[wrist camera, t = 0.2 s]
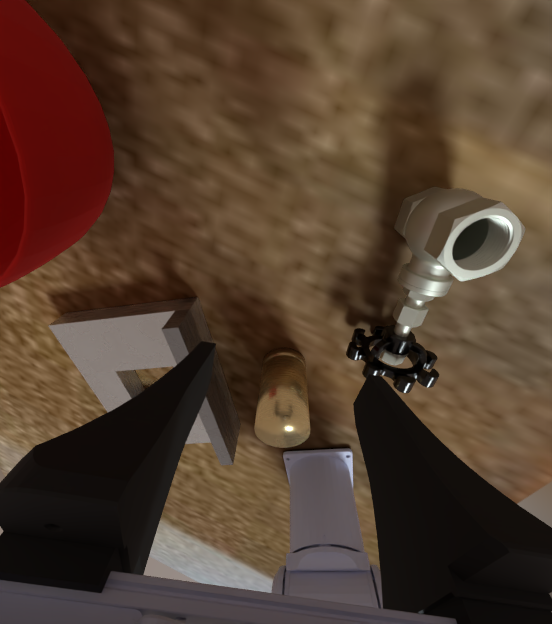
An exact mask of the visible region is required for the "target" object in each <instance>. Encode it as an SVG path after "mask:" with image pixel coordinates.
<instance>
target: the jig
mask: <svg viewBox="0 0 552 624" xmlns="http://www.w3.org/2000/svg"><path fill="white" fill-rule="evenodd" d="M48 326H49V327H50V329H51V330H52V332H53V333H54V335H55V336H56V338H57V339H58V340H59V342H60V343H61V345H62V346H63V348H64V349H65V351H66V352H67V354H68V355H69V357H70V358H71V359H72V361H73V362H74V364H75V365H76V367H77V368H78V370H79V371H80V373H81V374H82V376H83V377H84V378H85V380H86V381H87V383H88V384H89V386H90V387H91V389H92V390H93V392H94V393H95V394H96V396H97V397H98V399H99V400H100V402H101V403H102V405H103V406H104V408H105V409H106V411H107V412H110V411H112V410H113V409H115V408H117V407H119V406H120V405H122V404H124V403H125V402H127V401H128V400H130V399H132V398H133V397H135V396H136V395H138V394H139V393H141V392H142V391H144V390H145V388H144V387H143V385H142V383H141V381H140V379H139V377H138V376H137V374H136V372H135V370H136V369H147V368H158V367H169V366H173V368H174V367H175V366H176V365H177V364H178V363H179V362H180V361H182V360H183V359H184V358H185V357H186V356H187V355H188V354H189V353H190V352H191V351H192V350H193V349H194V348H195V347H196V346H197V345H198V344H199V343H200V342H201V341H205V342H210V343H213V341H212V338H211V335H210V332H209V329H208V326H207V323H206V320H205V317H204V314H203V311H202V308H201V305H200V302H199V299H198V297H194V298H185V299H177V300H169V301H161V302H152V303H144V304H136V305H128V306H119V307H111V308H103V309H95V310H86V311H78V312H70V313H65V314H64V315H63V316H61V317H60V318H58V319H57V320H55V321H54V322H53V323H51V324H50V325H48ZM239 430H240V421H239V418H238V415H237V412H236V409H235V406H234V403H233V400H232V397H231V394H230V391H229V388H228V385H227V382H226V379H225V376H224V373H223V370H222V367H221V364H220V361H219V358H218V355H217V352H216V349H215V354H214V362H213V370H212V377H211V380H210V384H209V387H208V390H207V393H206V397H205V399H204V401H203V404H202V406H201V408H200V411H199V413H198V415H197V418H196V420H195V422H194V425H193V427H192V429H191V431H190V434H189V436H188V438H187V441H186V443H185V444H190V443H208V442H211V443H212V445H213V448H214V450H215V452H216V455H217V457H218V459H219V461H220V464H221V465H233V463H234V457H235V452H236V446H237V441H238V435H239Z"/></svg>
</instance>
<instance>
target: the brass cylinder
mask: <svg viewBox="0 0 552 624" xmlns="http://www.w3.org/2000/svg"><path fill="white" fill-rule="evenodd" d="M254 430H255V434H256V436H257V437H258V438H259V439H260V440H261V441H262V442H264V443H265V444H268V445H270V446H274V447H279V448H288V447H294V446H297V445H300V444H302V443H303V442H304V441H306V440H307V438H308V437H309V435H310V418H309V404H308V391H307V377H306V362H305V359H304V357H303V356H302V355H301V354H300V353H299V352H298V351H296V350H294V349H291V348H277V349H274V350H272V351H270V352H269V353H267V354H266V356H265V357H264V359H263V364H262V374H261V381H260V389H259V397H258V404H257V412H256V419H255V427H254Z"/></svg>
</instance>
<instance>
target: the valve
mask: <svg viewBox="0 0 552 624" xmlns="http://www.w3.org/2000/svg"><path fill="white" fill-rule="evenodd" d="M394 229H395V230H396V231H397V232H398V233H399V234H401V235H402V236H403V237H404V238H405V239H406V241H407V244H408V247H409V249H410V250H411V252H412V258H411V260H410V263H406V264H404V265H403V266H402V268H401V271H400V274H399V276H398V282H399V283H400V284H401V285H402V286H403V291H404V293H405V294H406V295H407V296H406V298H402V299H399V300H398V302H397V305H396V307H395V310H394V312H393V317H394V319H395V320H396V321H397V323H396V326H395V325H392V326H385V327H381V326H376V327H375V330H374V332H373V335H372V336H369V337H366V336H365V335H364V333H365V330H364V329H361V328H357V329H355V330H354V333H353V336H352V342H350V343H349V345H348V349H347V352H346V355H347V357H348V358H350V359H352V360H359V359H361V360H363V361H364V362H365V366H364V369H363V371H362V373H363V375H364V377H365V378H367V377H368V375H369V374H371V375H376V376H380V375H384V376H386V377H389V378H391V379H392V380H393V381H394V383H393V385H394V387H395V388H396V389H397V390H398V391H400V392H402V393H409V392H410V391H411V389H412V387H413V385H414V384H415V382H416V380H417V381H418V382H419V383H420V384H421V385H423V386H425V387H429V388H430V387H433V386H434V384H435V382H436V381H437V379H438V377H439V373H438V372H437V371H436V370H435V369H432V367H433V366H434V364H435V362H436V360H437V356H436V355H435V354H434V353H433V352H430V351H427V350H425V349H424V347H422V346H421V345H420V344H418V343H416V339H415V336H414V334H413V333H412V332H411V331H410V330H411V328H412V327H418V326H420V325H421V324H422V322H423V320H424V318H425V316H426V314H427V312H428V308H427V307H426V306H425V304H424V303H425V301H430V300H433V299H434V297H440V296H444V295H446V294H447V292H448V290H449V288H450V286H451V284H452V282H453V277H452V276H451V275H453V276H454V277H455V278H457V279H458V280H459V281H466V280H470V279H474V278H478V277H482V276H485V275H488V274H490V273H493V272H495V271H498V270H500V269H502V268H503V267H504V266H505V265H506V264H507V262H508V261H509V260H510V258H511V257H512V255H513V254H514V252H515V251H516V249H517V247H518V245H519V243H520V241H521V239H522V237H523V235H524V232H525V227H524V226H523V224H522V223H521V222H520V220H519V219H518V218H517V217H516V216H515V214H514V213H513V212H512V211H511V210H510V209H509V208H508V207H507V206H506V205H505V204H503V203H502V202H500V201H496V200H491V199H487V198H483V197H482V196H480V195H479V194H477V193H475V192H473V191H470V190H466V189H459V188H453V189H443V188H439V187H432V188H430V189H427V190H425V191H422V192H420V193H417V194H415V195H412V196H410V197H407V198H405V199H404V200H403V203H402V206H401V208H400V211H399V214H398V217H397V220H396V223H395V226H394ZM450 274H451V275H450ZM357 345H359V346H361V347H357ZM374 345H375V346H374ZM371 346H374V347H373V348H372V350H371V352H370V349H369V347H371ZM406 356H407V357H408V358H409V359H410V361H411V362H412V364H413V367H411V368H407V369H400V368H395V367H391V366H389V365H386V364H384V363H382V362H381V361H379V360H378V359H379V357H380V358H381V360H383V361H384V362H386V363H388V364H391V365H398V364H401V363H402V362H403V360H404V358H405V357H406ZM423 368H424V369H432V370H431V372H430V373H429V372H427V371H425V370H424V369H423Z"/></svg>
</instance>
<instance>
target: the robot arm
mask: <svg viewBox="0 0 552 624" xmlns="http://www.w3.org/2000/svg"><path fill="white" fill-rule="evenodd" d="M215 346H216V344H215V343H210V342H205V341H201V342H200V343H199V344H198V345H197V346H196V347H195V348H194V349H193V350H192V351H191V352H190V353H189V354H188V355H187V356H186V357H185V358H184V359H183V360H182V361H180V362H179V363H178V364H177V365H176V366H175V367H174V368H173V369H171V370H170V371H169V372H168V373H166V374H165V375H164V376H163V377H161V378H160V379H159V380H158V381H156V382H155V383H154V384H152V385H151V386H150V387H148V388H147V389H145V390H144V391H142V392H141V393H139V394H138V395H136V396H135V397H133V398H132V399H130V400H128V401H127V402H125V403H124V404H122V405H120V406H119V407H117V408H115V409H113V410H112V411H110V412H108V413H106V414H104V415H102V416H100V417H98V418H96V419H94V420H93V421H91V422H89V423H87V424H85V425H83V426H81V427H79V428H76V429H74V430H72V431H70V432H68V433H65V434H63V435H60V436H58V437H56V438H53V439H51V440H49V441H46V442H44V443H42V444H39V445H37V446H35V447H34V448H33V449H32V450H31V451H30V452H29V453H28V454H27V455H26V456H24V457H23V458H22V459H21V460H20V461H19V462H18V464H17V465H16V466H15V467H14V468H13V469H12V470H11V471H10V472H9V473H8V475H7V476H6V477H5V478H4V479H3V480H2V481H1V483H0V526H1V528H2V529H3V531H4V532H3V533H2V534H1V536H0V624H552V612H551V611H552V598H551V597H550V595H549V593H550V592H552V528H551V527H550V526H548V525H547V524H545V523H544V522H542V521H541V520H539V519H538V518H536V517H535V516H533V515H532V514H530V513H529V512H527V511H526V510H524V509H523V508H521V507H520V506H519V505H517V504H516V503H515V502H513V501H512V500H510V499H509V498H508V497H506V496H505V495H504V494H502V493H501V492H500V491H498V490H497V489H496V488H494V487H493V486H492V485H491V484H489V483H488V482H487V481H485V480H484V479H483V478H482V477H480V476H479V475H478V474H477V473H476V472H474V471H473V470H472V469H471V468H470V467H468V466H467V465H466V464H465V463H464V462H463V461H461V460H460V459H459V458H458V457H457V456H456V455H455V454H454V453H453V452H451V451H450V450H449V449H448V448H447V447H446V446H445V445H444V444H443V443H442V442H441V441H440V440H439V439H438V438H437V437H436V436H435V435H434V434H433V433H432V432H431V431H430V430H429V429H428V428H427V427H426V426H425V425H424V424H423V423H422V422H421V421H420V420H419V418H418V417H417V416H416V415H415V414H414V413H413V412H412V411H411V410H410V408H409V407H408V406H407V405H406V404H405V403H404V402H403V400H402V399H401V398H400V397H399V396H398V395H397V393H396V392H395V391H394V390H393V389H392V388H391V386H390V385H389V384H388V383H387V382H386V381H385V380H384V379H383V378H382V377H381V376H376V375H371V374H369V375H368V377H367V379H366V381H365V383H364V385H363V387H362V388H361V390H360V392H359V394H358V396H357V398H356V400H355V402H354V404H353V405H354V415H355V423H356V428H357V433H358V437H359V441H360V445H361V449H362V453H363V457H364V461H365V465H366V469H367V473H368V477H369V482H370V487H371V494H372V500H373V507H374V514H375V522H376V530H377V539H378V549H379V560H380V570H379V568H378V566H377V565H371V566H370V565H369V559H368V554H367V553H366V552H365V551H364V546H363V541H362V535H361V530H360V525H359V519H358V514H357V509H356V503H355V498H354V493H353V460H352V450H351V449H349V448H345V449H324V450H304V451H286V452H284V453H283V459H284V463H285V467H286V472H287V476H288V480H289V484H290V553H287V554H286V566H280V567H279V570H278V572H277V573H276V574H275V576H274V580H273V585H272V593H267V592H260V591H252V590H245V589H238V588H231V587H224V586H216V585H209V584H202V583H195V582H187V581H181V580H173V579H166V578H158V577H151V576H145V575H143V574H144V570H145V567H146V564H147V560H148V557H149V554H150V550H151V547H152V544H153V540H154V537H155V534H156V531H157V527H158V524H159V521H160V518H161V515H162V511H163V508H164V505H165V502H166V499H167V496H168V493H169V490H170V486H171V483H172V480H173V477H174V474H175V471H176V468H177V465H178V462H179V459H180V456H181V453H182V451H183V448H184V445H185V443H186V441H187V438H188V436H189V434H190V431H191V429H192V427H193V425H194V422H195V420H196V418H197V415H198V413H199V411H200V408H201V406H202V404H203V401H204V399H205V397H206V393H207V390H208V387H209V384H210V380H211V377H212V370H213V362H214V354H215Z"/></svg>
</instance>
